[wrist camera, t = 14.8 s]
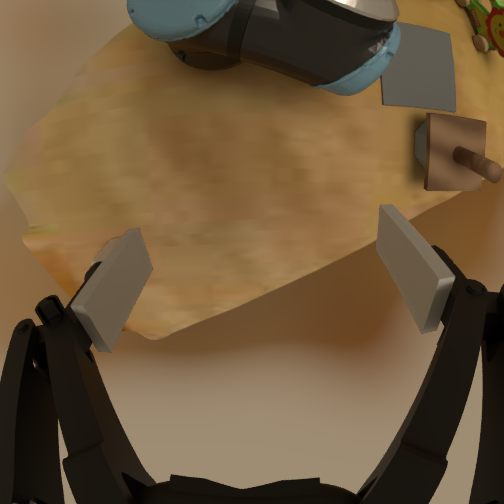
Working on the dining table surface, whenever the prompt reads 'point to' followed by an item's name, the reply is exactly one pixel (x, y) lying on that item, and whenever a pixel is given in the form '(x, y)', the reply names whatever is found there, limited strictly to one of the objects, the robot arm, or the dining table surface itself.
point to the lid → (457, 154)
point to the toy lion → (487, 25)
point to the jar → (101, 257)
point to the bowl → (421, 143)
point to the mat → (421, 70)
